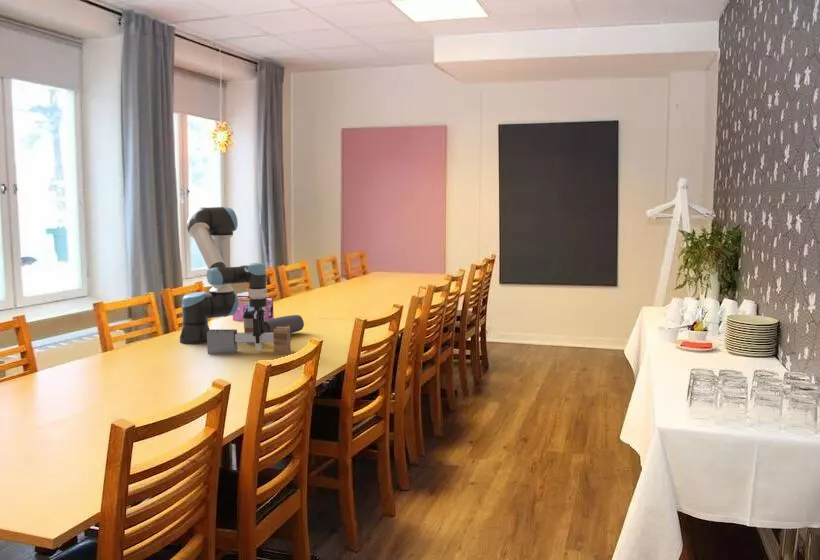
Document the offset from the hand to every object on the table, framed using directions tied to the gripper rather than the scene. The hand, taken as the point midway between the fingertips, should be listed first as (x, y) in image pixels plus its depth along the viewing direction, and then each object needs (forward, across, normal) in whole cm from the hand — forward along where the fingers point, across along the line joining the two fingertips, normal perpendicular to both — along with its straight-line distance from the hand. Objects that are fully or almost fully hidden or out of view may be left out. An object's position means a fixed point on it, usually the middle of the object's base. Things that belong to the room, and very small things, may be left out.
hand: (259, 349), depth 326 cm
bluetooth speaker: (+2, +37, -3) cm, 37 cm away
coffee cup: (+2, +20, +8) cm, 21 cm away
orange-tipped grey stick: (-4, 0, +4) cm, 5 cm away
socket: (+2, 0, -10) cm, 11 cm away
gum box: (+2, +82, +22) cm, 85 cm away
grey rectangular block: (+2, 0, +17) cm, 17 cm away
